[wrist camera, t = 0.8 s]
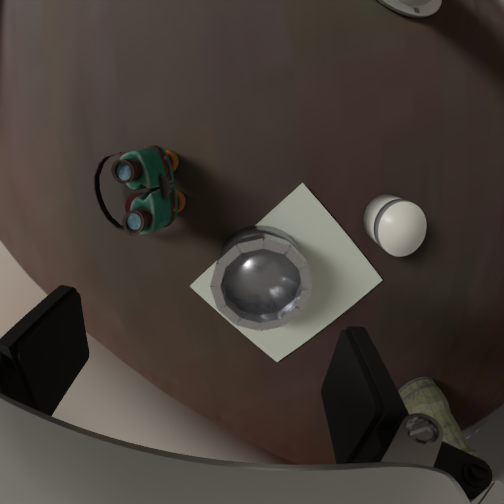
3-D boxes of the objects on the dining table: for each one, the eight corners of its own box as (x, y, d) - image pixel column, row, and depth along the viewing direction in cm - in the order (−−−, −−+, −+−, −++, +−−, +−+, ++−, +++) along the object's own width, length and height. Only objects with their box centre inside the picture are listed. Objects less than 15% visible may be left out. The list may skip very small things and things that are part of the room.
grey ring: (263, 207, 34) (264, 218, 28) (320, 268, 36) (330, 289, 31) (200, 265, 36) (191, 285, 31) (258, 319, 38) (258, 345, 33)
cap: (389, 183, 33) (408, 189, 28) (415, 221, 34) (435, 232, 29) (353, 216, 34) (367, 227, 30) (380, 252, 36) (397, 267, 31)
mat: (302, 182, 33) (302, 183, 33) (381, 278, 37) (382, 280, 36) (190, 285, 37) (189, 286, 37) (276, 360, 41) (277, 362, 40)
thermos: (406, 419, 46) (464, 566, 13) (379, 396, 44) (443, 577, 11) (443, 391, 44) (518, 533, 11) (421, 364, 42) (514, 538, 9)
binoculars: (53, 167, 23) (141, 138, 21) (109, 158, 33) (184, 139, 31) (74, 258, 26) (162, 247, 24) (123, 228, 36) (197, 217, 34)
